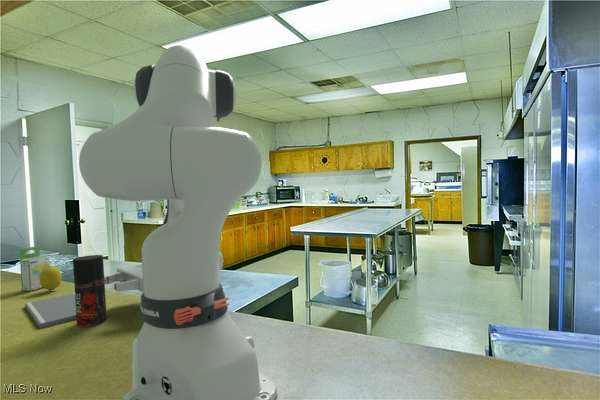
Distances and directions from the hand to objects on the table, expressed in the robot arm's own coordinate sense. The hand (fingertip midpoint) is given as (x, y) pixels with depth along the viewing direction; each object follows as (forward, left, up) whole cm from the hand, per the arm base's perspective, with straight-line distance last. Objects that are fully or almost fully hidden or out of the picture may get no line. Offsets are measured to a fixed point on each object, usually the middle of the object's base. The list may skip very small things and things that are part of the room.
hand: (108, 284), depth 82 cm
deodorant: (0, +4, -8) cm, 9 cm away
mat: (+16, +7, -8) cm, 19 cm away
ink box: (+48, +7, -8) cm, 49 cm away
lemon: (+40, +5, -8) cm, 41 cm away
